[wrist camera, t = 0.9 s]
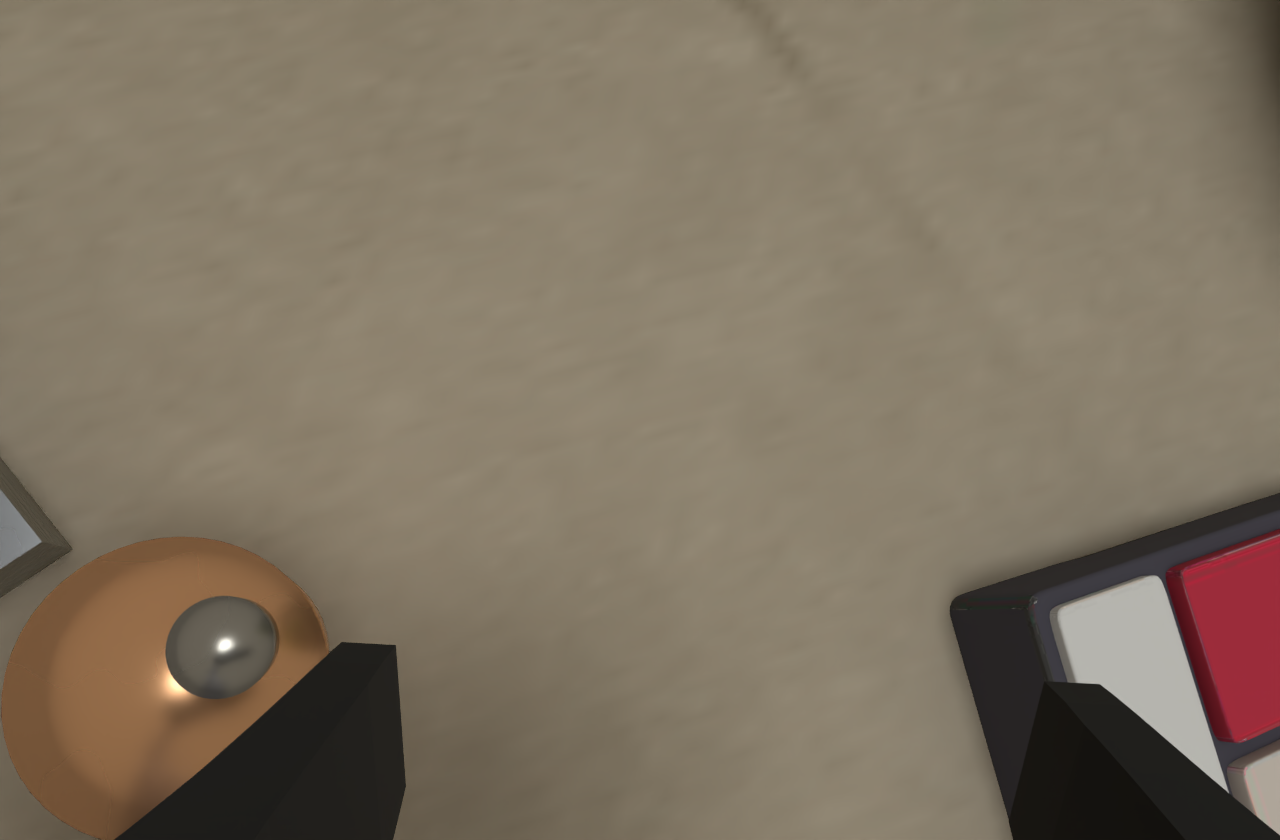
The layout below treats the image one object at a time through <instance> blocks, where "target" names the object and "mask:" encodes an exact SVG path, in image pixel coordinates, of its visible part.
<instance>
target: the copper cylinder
mask: <svg viewBox="0 0 1280 840" xmlns="http://www.w3.org/2000/svg"><path fill="white" fill-rule="evenodd" d="M328 654H329V643H328V637H327V632H326V629H325V626H324V622H323V620H322V618H321V616H320V613H319V611H318V609H317V608H316V606H315V605H314V603H313V602H312V600H311V599H310V598H309V596H308V595H307V594H306V593H305V592H304V591H303V590H302V589H301V588H300V587H299V586H298V585H297V584H295V583H294V582H293V581H292V580H291V579H289V578H288V577H287V576H286V575H285V574H283V573H282V572H281V571H280V570H279V569H277V568H276V567H275V566H274V565H272V564H270V563H269V562H267V561H266V560H264V559H263V558H261V557H259V556H258V555H256V554H254V553H251V552H249V551H247V550H245V549H243V548H241V547H237V546H234V545H231V544H228V543H225V542H221V541H216V540H210V539H205V538H194V537H171V538H158V539H153V540H148V541H143V542H138V543H135V544H131V545H128V546H125V547H122V548H119V549H116V550H114V551H112V552H110V553H107V554H105V555H103V556H101V557H98V558H97V559H95V560H93V561H92V562H90V563H88V564H87V565H85V566H83V567H81V568H80V569H78V570H77V571H76V572H74V573H73V574H72V575H71V576H69V577H68V578H67V579H65V580H64V581H63V582H61V583H60V584H59V585H58V586H57V587H56V588H55V589H54V590H53V591H52V592H51V593H50V594H49V595H48V596H47V597H46V598H45V599H44V600H43V602H42V603H41V604H40V605H39V607H38V608H37V609H36V610H35V612H34V613H33V614H32V615H31V617H30V619H29V620H28V622H27V624H26V625H25V627H24V628H23V630H22V632H21V633H20V635H19V637H18V640H17V642H16V644H15V646H14V648H13V651H12V653H11V656H10V659H9V663H8V666H7V669H6V672H5V677H4V684H3V690H2V714H1V717H2V724H3V731H4V738H5V741H6V744H7V748H8V751H9V755H10V758H11V760H12V762H13V764H14V766H15V768H16V770H17V772H18V774H19V776H20V778H21V779H22V781H23V782H24V784H25V785H26V787H27V788H28V789H29V791H30V792H31V794H32V795H33V796H34V797H35V798H36V799H37V800H38V801H39V802H40V803H41V804H42V805H43V806H44V807H45V808H46V809H47V810H48V811H50V812H51V813H52V814H53V815H55V816H56V817H57V818H58V819H60V820H61V821H63V822H64V823H66V824H68V825H70V826H71V827H73V828H75V829H77V830H78V831H81V832H83V833H86V834H88V835H91V836H93V837H96V838H98V839H102V840H114V839H116V838H117V837H118V836H119V835H121V834H122V833H123V832H125V831H126V830H127V829H129V828H130V827H131V826H132V825H134V824H135V823H136V822H137V821H139V820H140V819H141V818H142V817H143V816H145V815H146V814H147V813H148V812H150V811H151V810H152V809H153V808H155V807H156V806H157V805H158V804H160V803H161V802H162V801H163V800H164V799H166V798H167V797H168V796H169V795H171V794H172V793H173V792H174V791H176V790H177V789H178V788H179V787H181V786H182V785H183V784H184V783H185V782H187V781H188V780H189V779H190V778H192V777H193V776H194V775H195V774H196V773H197V772H199V771H200V770H201V769H202V768H203V767H204V766H206V765H207V764H208V763H209V762H210V761H211V760H212V759H214V758H215V757H216V756H217V755H218V754H219V753H220V752H221V751H223V750H224V749H225V748H226V747H227V746H228V745H229V744H231V743H232V742H233V741H234V740H235V739H236V738H237V737H238V736H240V735H241V734H242V733H243V732H244V731H245V730H246V729H247V728H249V727H250V726H251V725H252V724H253V723H254V722H255V721H256V720H258V719H259V718H260V717H261V716H262V715H263V714H264V713H265V712H266V711H267V710H268V709H269V708H271V707H272V706H273V705H274V704H275V703H276V702H277V701H278V700H279V699H280V698H281V697H282V696H284V695H285V694H286V693H287V692H288V691H289V690H290V689H291V688H292V687H293V686H294V685H295V684H296V683H297V682H298V681H300V680H301V679H302V678H303V677H304V676H305V675H306V674H307V673H308V672H309V671H310V670H311V669H312V668H313V667H315V666H316V665H317V664H318V663H319V662H320V661H321V660H322V659H323V658H324V657H326V656H327V655H328Z"/></svg>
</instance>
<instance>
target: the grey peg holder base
mask: <svg viewBox="0 0 1280 840" xmlns="http://www.w3.org/2000/svg"><path fill="white" fill-rule="evenodd" d="M71 550H72V548H71V547H70V545H69V544H68V543H67V541H66V540H65V539H64V538H63V536H62V535H61V534H60V533H59V531H58V530H57V529H56V528H55V526H54V525H53V524H52V522H51V521H50V520H49V519H48V517H47V516H46V515H45V514H44V512H43V511H42V510H41V509H40V507H39V506H38V505H37V503H36V502H35V501H34V500H33V498H32V497H31V496H30V495H29V493H28V492H27V491H26V490H25V488H24V487H23V486H22V484H21V483H20V482H19V481H18V479H17V478H16V477H15V476H14V474H13V473H12V472H11V471H10V469H9V468H8V467H7V465H6V464H5V463H4V462H3V460H2V459H1V458H0V597H1V596H3V595H4V594H6V593H7V592H9V591H10V590H12V589H13V588H15V587H16V586H18V585H19V584H21V583H22V582H24V581H25V580H27V579H28V578H30V577H31V576H33V575H34V574H36V573H37V572H39V571H40V570H42V569H43V568H45V567H46V566H48V565H49V564H51V563H52V562H54V561H55V560H57V559H59V558H60V557H62V556H63V555H65V554H66V553H68V552H69V551H71Z"/></svg>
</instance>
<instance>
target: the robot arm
mask: <svg viewBox="0 0 1280 840" xmlns="http://www.w3.org/2000/svg"><path fill="white" fill-rule="evenodd" d="M405 787H406V783H405V769H404V755H403V741H402V726H401V712H400V698H399V684H398V670H397V656H396V645H382V644H364V643H346V642H342V643H340V644H339V645H338V646H337V647H336V648H335V649H333V650H332V651H331V652H330V653H329V654H328V655H327V656H326V657H324V658H323V659H322V660H321V661H320V662H319V663H318V664H317V665H316V666H315V667H313V668H312V669H311V670H310V671H309V672H308V673H307V674H306V675H305V676H304V677H303V678H302V679H301V680H300V681H298V682H297V683H296V684H295V685H294V686H293V687H292V688H291V689H290V690H289V691H288V692H287V693H286V694H285V695H284V696H282V697H281V698H280V699H279V700H278V701H277V702H276V703H275V704H274V705H273V706H272V707H271V708H269V709H268V710H267V711H266V712H265V713H264V714H263V715H262V716H261V717H260V718H259V719H258V720H256V721H255V722H254V723H253V724H252V725H251V726H250V727H249V728H247V729H246V730H245V731H244V732H243V733H242V734H241V735H240V736H238V737H237V738H236V739H235V740H234V741H233V742H232V743H231V744H229V745H228V746H227V747H226V748H225V749H224V750H223V751H221V752H220V753H219V754H218V755H217V756H216V757H215V758H214V759H212V760H211V761H210V762H209V763H208V764H207V765H206V766H204V767H203V768H202V769H201V770H200V771H199V772H197V773H196V774H195V775H194V776H193V777H192V778H190V779H189V780H188V781H187V782H185V783H184V784H183V785H182V786H181V787H179V788H178V789H177V790H176V791H174V792H173V793H172V794H171V795H169V796H168V797H167V798H166V799H164V800H163V801H162V802H161V803H160V804H158V805H157V806H156V807H155V808H153V809H152V810H151V811H150V812H148V813H147V814H146V815H145V816H143V817H142V818H141V819H140V820H139V821H137V822H136V823H135V824H134V825H132V826H131V827H130V828H129V829H127V830H126V831H125V832H123V833H122V834H121V835H119V836H118V837H117V838H116V839H114V840H393V837H394V833H395V829H396V825H397V821H398V817H399V812H400V808H401V804H402V800H403V796H404V791H405ZM1009 824H1010V828H1011V832H1012V836H1013V840H1280V835H1279V834H1278V833H1276V832H1275V831H1274V830H1273V829H1272V828H1270V827H1269V826H1268V825H1267V824H1265V823H1264V822H1263V821H1262V820H1261V819H1259V818H1258V817H1257V816H1256V815H1254V814H1253V813H1252V812H1251V811H1250V810H1249V809H1247V808H1246V807H1245V806H1244V805H1243V804H1241V803H1240V802H1239V801H1238V800H1237V799H1235V798H1234V797H1233V796H1232V795H1231V794H1229V793H1228V792H1227V791H1226V790H1225V789H1224V788H1222V787H1221V786H1220V785H1219V784H1218V783H1216V782H1215V781H1214V780H1213V779H1212V778H1211V777H1209V776H1208V775H1207V774H1206V773H1205V772H1204V771H1202V770H1201V769H1200V768H1199V767H1198V766H1197V765H1195V764H1194V763H1193V762H1192V761H1191V760H1190V759H1188V758H1187V757H1186V756H1185V755H1184V754H1183V753H1181V752H1180V751H1179V750H1178V749H1177V748H1176V747H1175V746H1173V745H1172V744H1171V743H1170V742H1169V741H1168V740H1166V739H1165V738H1164V737H1163V736H1162V735H1161V734H1159V733H1158V732H1157V731H1156V730H1155V729H1154V728H1152V727H1151V726H1150V725H1149V724H1148V723H1147V722H1145V721H1144V720H1143V719H1142V718H1141V717H1140V716H1138V715H1137V714H1136V713H1135V712H1134V711H1133V710H1131V709H1130V708H1129V707H1128V706H1127V705H1125V704H1124V703H1123V702H1122V701H1121V700H1119V699H1118V698H1117V697H1116V696H1114V695H1113V694H1112V693H1111V692H1109V691H1108V690H1107V689H1105V688H1104V687H1103V686H1102V685H1100V684H1088V683H1070V682H1052V681H1044V684H1043V688H1042V691H1041V695H1040V699H1039V703H1038V707H1037V711H1036V715H1035V719H1034V723H1033V727H1032V731H1031V735H1030V739H1029V743H1028V747H1027V751H1026V755H1025V759H1024V763H1023V767H1022V770H1021V774H1020V778H1019V782H1018V786H1017V790H1016V794H1015V798H1014V802H1013V806H1012V810H1011V814H1010V818H1009Z"/></svg>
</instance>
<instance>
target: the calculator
mask: <svg viewBox="0 0 1280 840" xmlns="http://www.w3.org/2000/svg"><path fill="white" fill-rule="evenodd" d="M950 616H951V620H952V623H953V627H954V631H955V634H956V637H957V641H958V644H959V648H960V651H961V655H962V658H963V662H964V665H965V669H966V672H967V676H968V679H969V683H970V686H971V690H972V693H973V697H974V700H975V704H976V707H977V710H978V714H979V717H980V721H981V724H982V728H983V731H984V735H985V738H986V742H987V745H988V749H989V752H990V756H991V759H992V763H993V766H994V770H995V773H996V777H997V780H998V783H999V787H1000V790H1001V794H1002V797H1003V801H1004V804H1005V808H1006V811H1007V815H1008V818H1010V814H1011V810H1012V806H1013V802H1014V798H1015V794H1016V790H1017V786H1018V782H1019V778H1020V774H1021V770H1022V767H1023V763H1024V759H1025V755H1026V751H1027V747H1028V743H1029V739H1030V735H1031V731H1032V727H1033V723H1034V719H1035V715H1036V711H1037V707H1038V703H1039V699H1040V695H1041V691H1042V688H1043V684H1044V681H1052V682H1070V683H1088V684H1100V685H1102V686H1103V687H1104V688H1105V689H1107V690H1108V691H1109V692H1111V693H1112V694H1113V695H1114V696H1116V697H1117V698H1118V699H1119V700H1121V701H1122V702H1123V703H1124V704H1125V705H1127V706H1128V707H1129V708H1130V709H1131V710H1133V711H1134V712H1135V713H1136V714H1137V715H1138V716H1140V717H1141V718H1142V719H1143V720H1144V721H1145V722H1147V723H1148V724H1149V725H1150V726H1151V727H1152V728H1154V729H1155V730H1156V731H1157V732H1158V733H1159V734H1161V735H1162V736H1163V737H1164V738H1165V739H1166V740H1168V741H1169V742H1170V743H1171V744H1172V745H1173V746H1175V747H1176V748H1177V749H1178V750H1179V751H1180V752H1181V753H1183V754H1184V755H1185V756H1186V757H1187V758H1188V759H1190V760H1191V761H1192V762H1193V763H1194V764H1195V765H1197V766H1198V767H1199V768H1200V769H1201V770H1202V771H1204V772H1205V773H1206V774H1207V775H1208V776H1209V777H1211V778H1212V779H1213V780H1214V781H1215V782H1216V783H1218V784H1219V785H1220V786H1221V787H1222V788H1224V789H1225V790H1226V791H1227V792H1228V793H1229V794H1231V795H1232V796H1233V797H1234V798H1235V799H1237V800H1238V801H1239V802H1240V803H1241V804H1243V805H1244V806H1245V807H1246V808H1247V809H1249V810H1250V811H1251V812H1252V813H1253V814H1254V815H1256V816H1257V817H1258V818H1259V819H1261V820H1262V821H1263V822H1264V823H1265V824H1267V825H1268V826H1269V827H1270V828H1272V829H1273V830H1274V831H1275V832H1276V833H1278V834H1279V835H1280V493H1279V494H1275V495H1272V496H1269V497H1266V498H1263V499H1260V500H1257V501H1254V502H1250V503H1247V504H1244V505H1241V506H1238V507H1235V508H1232V509H1229V510H1226V511H1222V512H1219V513H1216V514H1213V515H1210V516H1207V517H1204V518H1201V519H1198V520H1195V521H1192V522H1189V523H1186V524H1183V525H1180V526H1177V527H1174V528H1171V529H1168V530H1165V531H1162V532H1159V533H1156V534H1153V535H1150V536H1147V537H1144V538H1141V539H1138V540H1135V541H1132V542H1128V543H1125V544H1122V545H1119V546H1116V547H1113V548H1110V549H1107V550H1104V551H1101V552H1098V553H1095V554H1092V555H1089V556H1086V557H1083V558H1079V559H1075V560H1071V561H1067V562H1063V563H1059V564H1056V565H1052V566H1049V567H1046V568H1043V569H1040V570H1037V571H1034V572H1030V573H1027V574H1024V575H1021V576H1018V577H1015V578H1012V579H1008V580H1005V581H1002V582H999V583H996V584H993V585H990V586H987V587H983V588H980V589H977V590H974V591H971V592H968V593H965V594H962V595H960V596H957V597H956V598H955V599H954V600H953V601H952V603H951V606H950Z"/></svg>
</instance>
